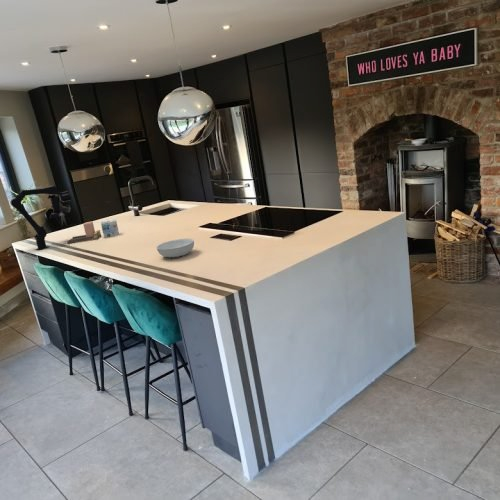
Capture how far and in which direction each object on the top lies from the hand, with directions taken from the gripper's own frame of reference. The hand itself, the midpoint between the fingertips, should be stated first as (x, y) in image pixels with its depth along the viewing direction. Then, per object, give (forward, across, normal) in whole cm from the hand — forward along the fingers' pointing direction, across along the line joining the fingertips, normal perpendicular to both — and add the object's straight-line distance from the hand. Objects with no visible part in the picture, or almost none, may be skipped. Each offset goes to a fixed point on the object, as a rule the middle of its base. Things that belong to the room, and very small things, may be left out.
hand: (61, 225), depth 337 cm
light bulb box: (+13, 0, -33) cm, 36 cm away
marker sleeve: (+11, 0, -19) cm, 22 cm away
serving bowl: (+14, -80, -88) cm, 120 cm away
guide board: (+13, 0, -14) cm, 19 cm away
